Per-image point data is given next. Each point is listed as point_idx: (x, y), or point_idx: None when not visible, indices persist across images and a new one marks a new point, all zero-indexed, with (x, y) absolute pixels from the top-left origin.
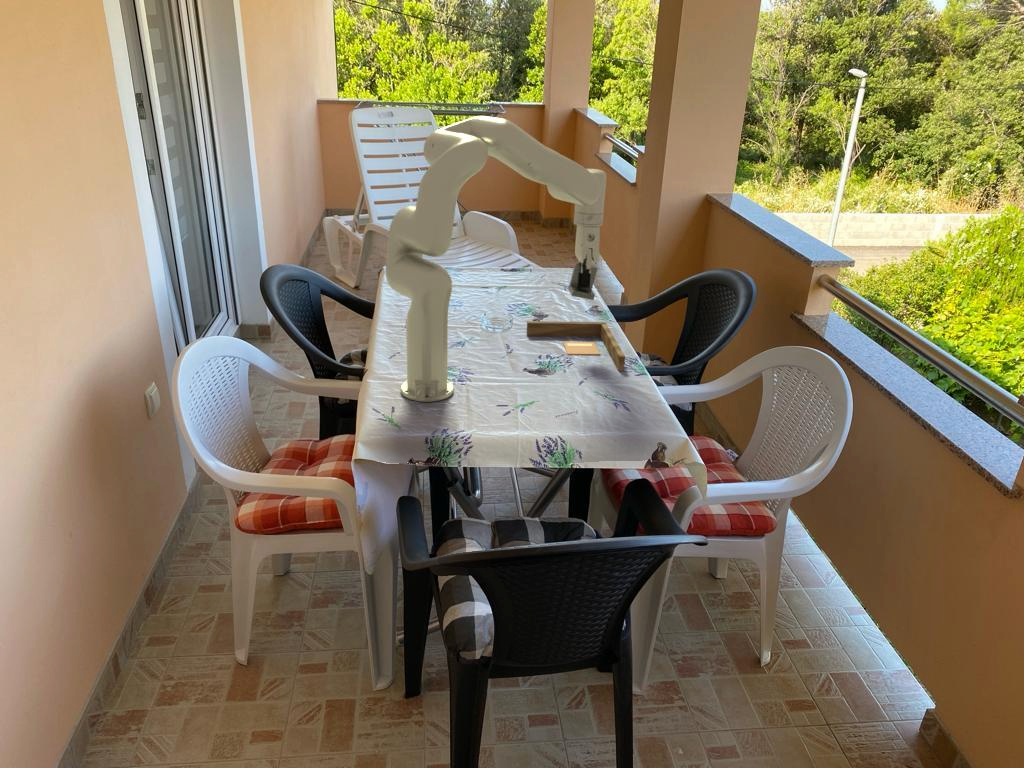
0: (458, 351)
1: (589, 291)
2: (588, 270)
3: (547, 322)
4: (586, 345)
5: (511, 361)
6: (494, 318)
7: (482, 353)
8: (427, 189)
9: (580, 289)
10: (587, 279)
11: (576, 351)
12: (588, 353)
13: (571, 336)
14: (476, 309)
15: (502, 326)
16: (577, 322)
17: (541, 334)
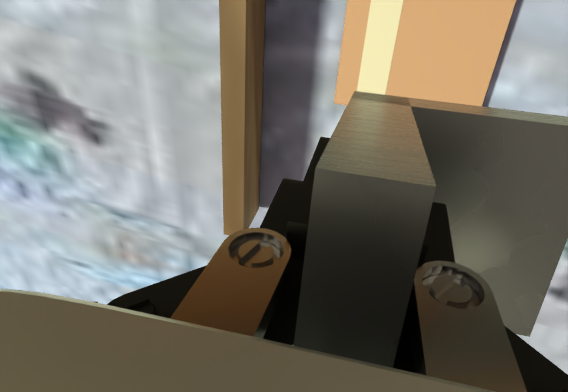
0: None
1: (498, 162)
2: (554, 384)
3: (235, 167)
4: (395, 4)
5: None
6: (105, 250)
7: None
8: None
9: (463, 246)
10: (449, 240)
11: (461, 76)
12: (501, 24)
13: (263, 42)
14: (44, 272)
15: (170, 248)
16: (229, 26)
17: (257, 165)
